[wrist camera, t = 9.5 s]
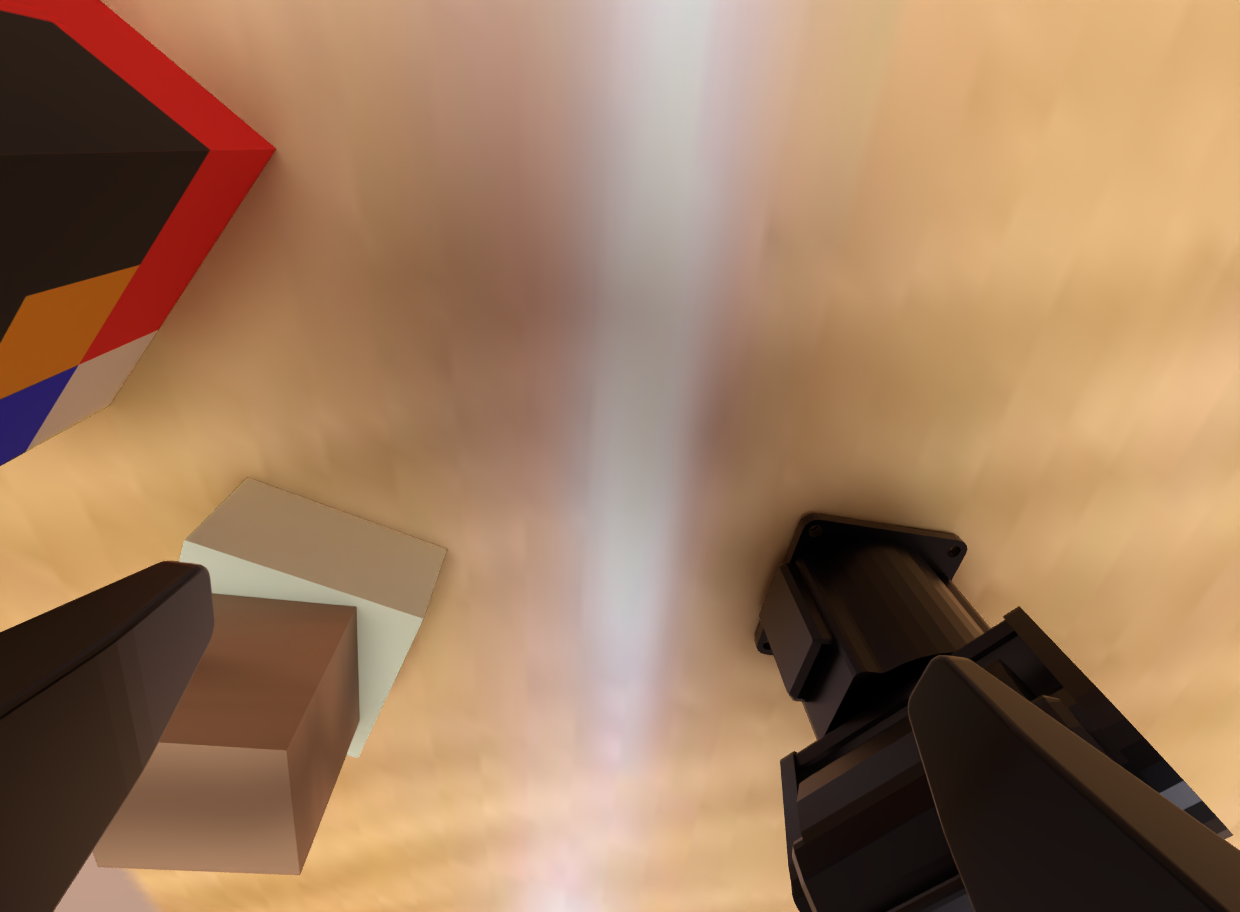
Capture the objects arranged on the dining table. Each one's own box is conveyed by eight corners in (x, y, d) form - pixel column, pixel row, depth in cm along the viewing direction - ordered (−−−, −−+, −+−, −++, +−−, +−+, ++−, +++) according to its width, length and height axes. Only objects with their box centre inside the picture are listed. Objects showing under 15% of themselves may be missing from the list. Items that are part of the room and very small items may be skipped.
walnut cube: (359, 720, 21) (300, 875, 17) (203, 709, 20) (98, 867, 16) (356, 606, 19) (286, 750, 14) (181, 590, 18) (51, 735, 14)
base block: (448, 544, 23) (423, 618, 19) (389, 672, 25) (358, 757, 22) (251, 472, 21) (184, 540, 18) (211, 617, 24) (145, 701, 20)
